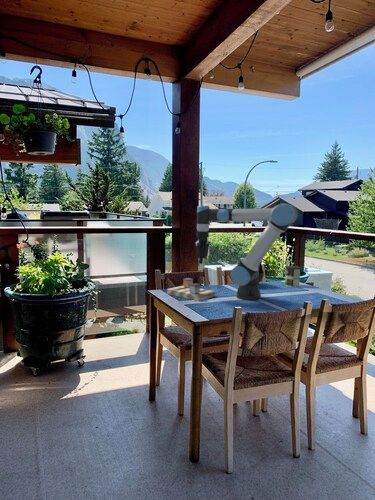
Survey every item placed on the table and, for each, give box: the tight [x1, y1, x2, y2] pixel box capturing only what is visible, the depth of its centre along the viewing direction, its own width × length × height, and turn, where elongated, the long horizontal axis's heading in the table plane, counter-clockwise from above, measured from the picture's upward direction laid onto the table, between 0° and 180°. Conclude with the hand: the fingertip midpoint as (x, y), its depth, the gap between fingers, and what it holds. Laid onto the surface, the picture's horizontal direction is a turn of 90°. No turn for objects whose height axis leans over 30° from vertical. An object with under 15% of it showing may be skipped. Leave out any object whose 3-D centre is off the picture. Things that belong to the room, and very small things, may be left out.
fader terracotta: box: [182, 277, 194, 288], centre depth 241 cm, size 4×5×5 cm
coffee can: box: [284, 265, 301, 288], centre depth 267 cm, size 10×10×14 cm
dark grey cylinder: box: [259, 262, 265, 283], centre depth 264 cm, size 20×20×19 cm
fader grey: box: [189, 282, 201, 294], centre depth 224 cm, size 4×5×5 cm
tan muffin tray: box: [166, 285, 216, 302], centre depth 232 cm, size 26×17×3 cm, turn 50°
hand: (202, 268), depth 227 cm, fingers closed
